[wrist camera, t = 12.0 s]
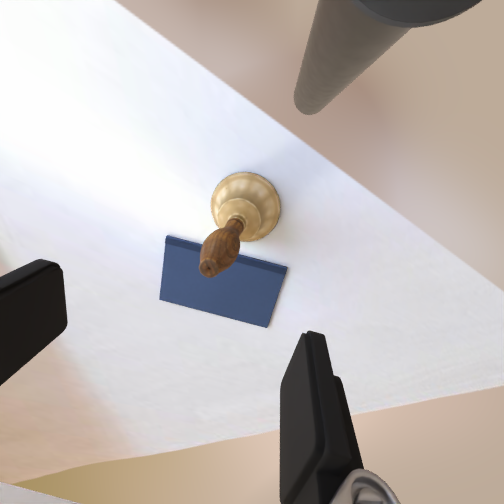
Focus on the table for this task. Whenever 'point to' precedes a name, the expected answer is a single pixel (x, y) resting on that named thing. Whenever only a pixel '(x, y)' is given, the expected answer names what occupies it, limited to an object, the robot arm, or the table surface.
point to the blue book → (220, 284)
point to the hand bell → (238, 219)
